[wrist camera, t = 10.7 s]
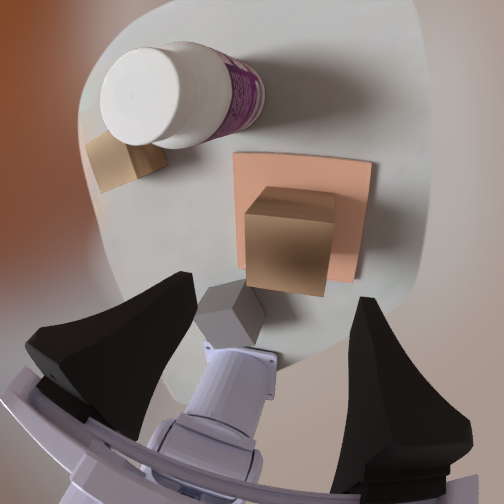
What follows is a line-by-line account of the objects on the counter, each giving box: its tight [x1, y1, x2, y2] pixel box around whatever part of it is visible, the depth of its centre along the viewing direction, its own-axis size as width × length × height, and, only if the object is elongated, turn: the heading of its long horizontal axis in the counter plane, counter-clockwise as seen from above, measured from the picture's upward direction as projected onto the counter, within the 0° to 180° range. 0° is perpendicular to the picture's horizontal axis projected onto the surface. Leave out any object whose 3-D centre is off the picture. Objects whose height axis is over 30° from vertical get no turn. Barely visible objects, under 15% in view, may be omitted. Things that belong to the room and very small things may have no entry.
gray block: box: [193, 279, 266, 349], centre depth 23 cm, size 4×4×4 cm
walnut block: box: [244, 186, 335, 297], centre depth 17 cm, size 4×4×5 cm
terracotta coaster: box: [233, 152, 372, 283], centre depth 19 cm, size 9×9×1 cm
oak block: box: [85, 130, 168, 194], centre depth 18 cm, size 4×4×4 cm
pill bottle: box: [100, 42, 265, 149], centre depth 12 cm, size 5×5×10 cm
